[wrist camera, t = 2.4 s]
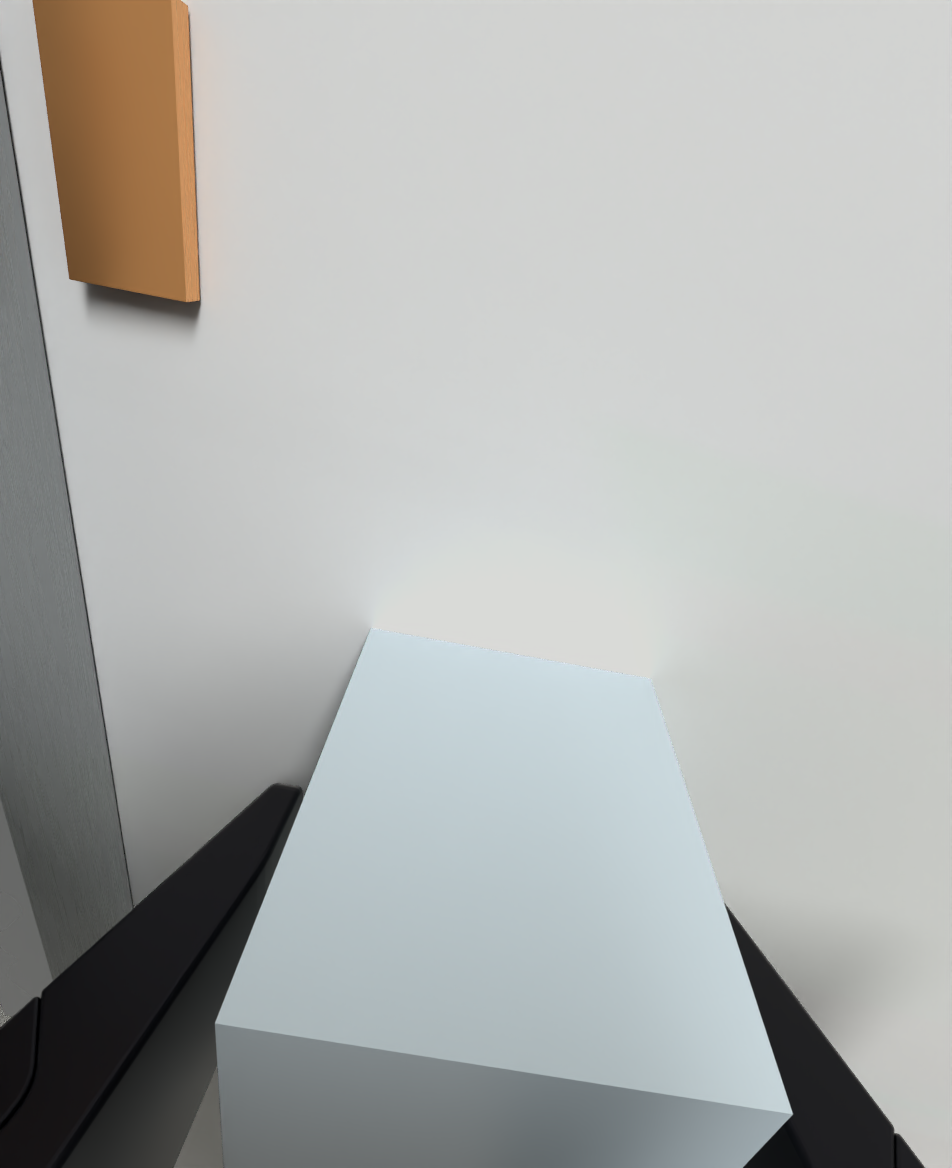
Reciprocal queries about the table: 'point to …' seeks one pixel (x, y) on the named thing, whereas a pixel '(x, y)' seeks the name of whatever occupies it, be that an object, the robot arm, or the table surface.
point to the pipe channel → (35, 471)
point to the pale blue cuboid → (494, 939)
